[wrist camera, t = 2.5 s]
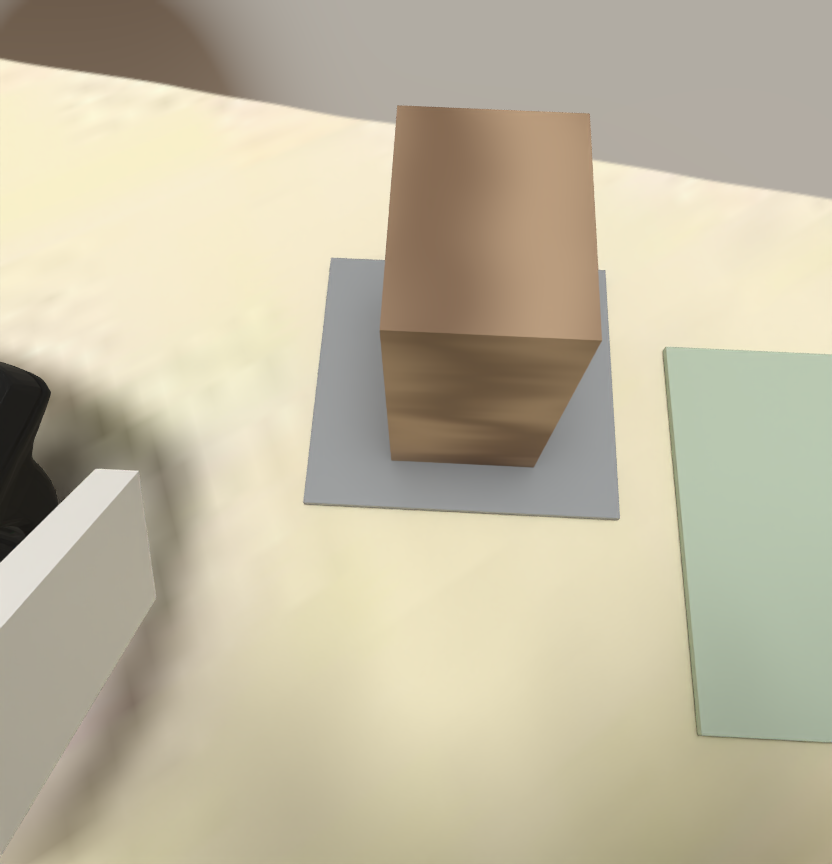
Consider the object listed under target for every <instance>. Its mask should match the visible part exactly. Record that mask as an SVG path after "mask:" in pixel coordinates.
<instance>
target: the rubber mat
mask: <svg viewBox="0 0 832 864" xmlns="http://www.w3.org/2000/svg"><path fill="white" fill-rule="evenodd" d="M663 358H664V369H665V380H666V391H667V402H668V413H669V424H670V435H671V446H672V457H673V468H674V479H675V490H676V501H677V512H678V523H679V534H680V546H681V557H682V568H683V579H684V590H685V601H686V612H687V623H688V634H689V645H690V656H691V667H692V678H693V689H694V700H695V711H696V722H697V734H698V735H704V736H723V737H741V738H759V739H777V740H796V741H814V742H832V355H830V354H809V353H788V352H767V351H745V350H724V349H703V348H682V347H665V349H664V350H663Z"/></svg>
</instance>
